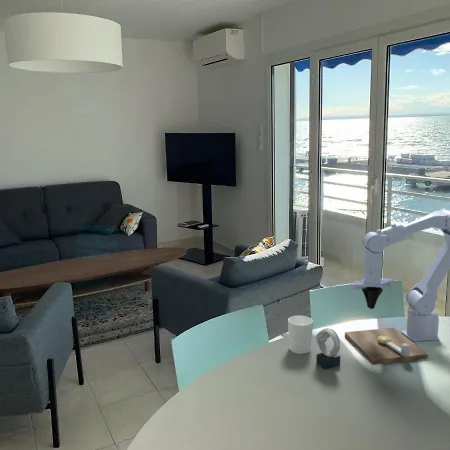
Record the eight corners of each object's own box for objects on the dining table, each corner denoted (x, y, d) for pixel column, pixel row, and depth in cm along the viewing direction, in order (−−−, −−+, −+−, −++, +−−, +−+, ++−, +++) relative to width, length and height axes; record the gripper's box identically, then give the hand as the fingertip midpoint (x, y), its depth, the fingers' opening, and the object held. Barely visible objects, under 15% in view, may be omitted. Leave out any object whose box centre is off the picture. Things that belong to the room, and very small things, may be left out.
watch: (326, 356, 147) (327, 323, 144) (344, 367, 140) (345, 333, 137) (312, 360, 144) (312, 327, 142) (329, 372, 137) (330, 337, 135)
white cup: (285, 353, 149) (285, 323, 147) (289, 342, 156) (290, 314, 154) (310, 356, 147) (311, 326, 145) (313, 345, 154) (314, 316, 152)
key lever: (375, 339, 153) (375, 330, 153) (385, 337, 154) (386, 328, 154) (402, 358, 141) (402, 347, 140) (413, 355, 142) (414, 345, 142)
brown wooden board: (393, 331, 164) (393, 327, 163) (427, 358, 144) (427, 353, 144) (344, 336, 160) (344, 331, 160) (372, 364, 141) (373, 359, 141)
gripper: (360, 274, 149) (358, 314, 152) (399, 269, 153) (396, 309, 156) (348, 268, 156) (346, 307, 159) (385, 264, 160) (383, 301, 163)
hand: (370, 307), depth 158 cm, fingers closed
